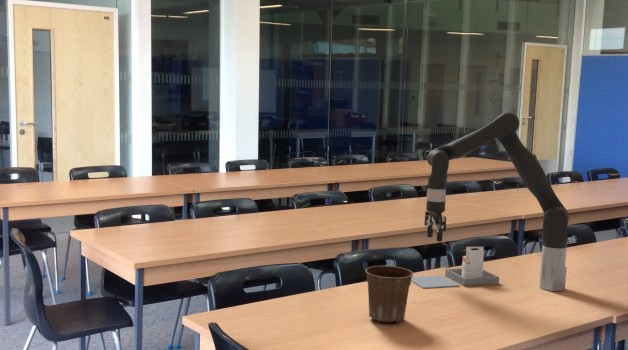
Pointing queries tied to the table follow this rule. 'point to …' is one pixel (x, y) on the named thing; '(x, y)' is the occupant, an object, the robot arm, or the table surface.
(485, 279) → the desk holder
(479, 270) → the ink box
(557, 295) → the table surface
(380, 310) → the plant pot
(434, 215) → the robot arm
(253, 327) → the table surface
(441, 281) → the slate mat
